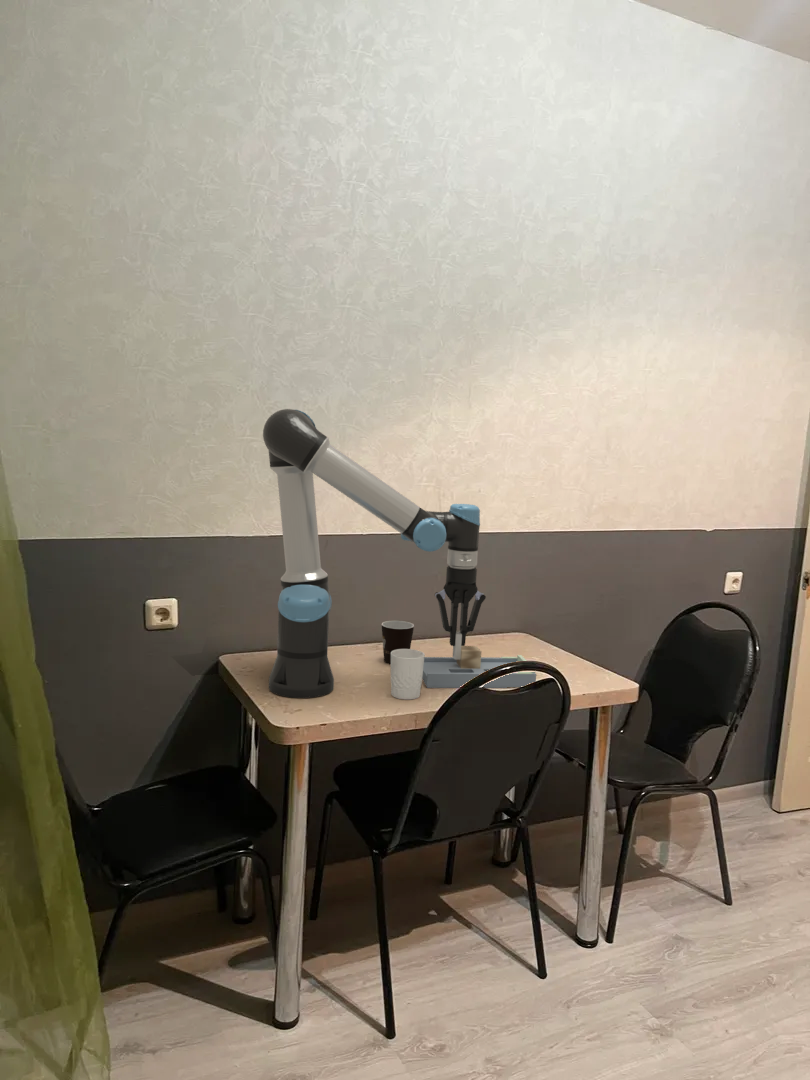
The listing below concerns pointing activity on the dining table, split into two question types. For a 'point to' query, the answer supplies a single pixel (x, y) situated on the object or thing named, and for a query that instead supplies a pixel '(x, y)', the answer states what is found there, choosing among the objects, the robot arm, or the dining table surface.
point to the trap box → (471, 673)
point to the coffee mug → (396, 637)
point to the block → (470, 657)
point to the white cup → (406, 673)
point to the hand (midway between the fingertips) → (456, 657)
